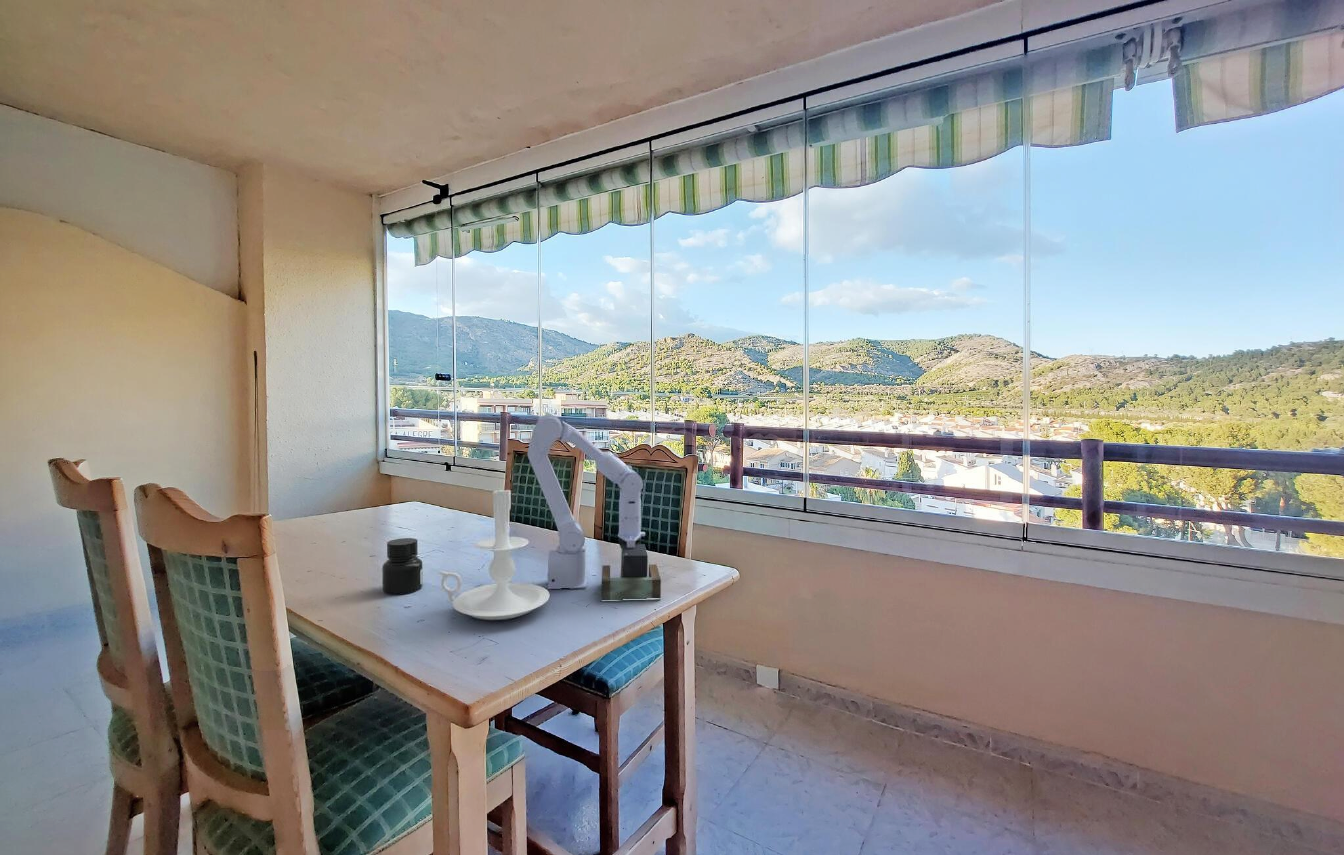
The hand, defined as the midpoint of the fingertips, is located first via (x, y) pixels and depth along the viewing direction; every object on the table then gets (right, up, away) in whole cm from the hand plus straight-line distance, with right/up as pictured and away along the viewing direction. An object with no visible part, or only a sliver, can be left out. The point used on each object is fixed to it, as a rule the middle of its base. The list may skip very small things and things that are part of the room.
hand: (629, 567), depth 145 cm
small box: (+2, -4, -7) cm, 8 cm away
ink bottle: (-55, -3, -9) cm, 56 cm away
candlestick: (-29, -4, -22) cm, 37 cm away
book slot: (+1, -4, -8) cm, 9 cm away
